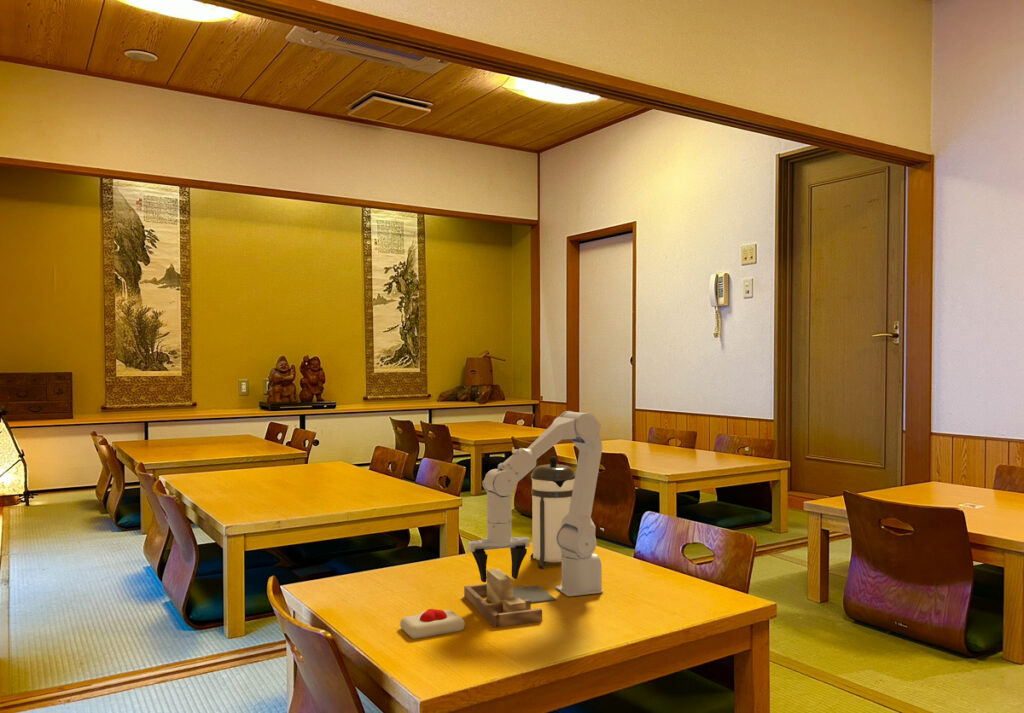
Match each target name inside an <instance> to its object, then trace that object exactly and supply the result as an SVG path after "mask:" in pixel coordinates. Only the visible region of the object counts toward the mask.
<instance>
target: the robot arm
mask: <svg viewBox="0 0 1024 713" xmlns="http://www.w3.org/2000/svg"><path fill="white" fill-rule="evenodd" d="M552 421H553V422H552V423H551V425H550V426H548V427H547V428H546V429H545V430H544V431H543V432H542V433H541V434H540V435H539V436H538V437H537V438H536V439H535V440H534V441H533V442H532V443H531V444H530V445H529V446H528V447H527V448H523V447H520V448H518V449H517V448H516V449H513V450H512V451H511V453H512V455H511V456H509V457H508V458H507V459H505V460H504V461H503V462H500V463H499V464H498V465H497V468H493V469H490V470H489V471H488V472H486V473H485V477H484V479H483V480H482V482H481V483H482V487H483V489H484V490H485V492H486V538H484V539H479V540H472V541H471V540H470V541H468V543H467V547H468V551H469V552H470V553H471V554H472V556H473V557H474V559H475V562H476V565H477V568H478V572H479V575H480V577H479V578H480V581H481V582H482V583H487V562H488V554H487V553H486V550H487V551H488V550H500V549H510V555H511V579H514V580H518V577H519V572H520V569H521V565H522V563H523V560H524V559H525V557H526V555H527V551H528V550H527V548H529V547H530V544H531V543H530V538H529V537H528V536H522V537H518V536H517V537H516V536H515V537H514V536H512V494H513V493H514V492H515V491H516V488H517V484H518V483H519V482H520V481H521V480H523V479H524V478H525V476H527V474H529V473H530V472H531V471H533V470H534V469H535V468H536V467H537V459H539V458H540V457H541V456H542V455H544V454H545V453H546V452H547V451H548V450H550V449H552V447H554V446H555V445H556V444H557V443H559V442H560V441H562V440H564V441H565V440H569V441H571V442H572V443H573V444H574V445H575V447H576V448H577V449H578V457H577V458H578V459H577V464H576V469H575V474H576V475H575V481H574V486H573V492H572V498H571V504H570V510H569V513H568V515H566V516H565V517H564V518H563V520H562V524H561V527H560V528H559V530H558V532H557V535H556V541H557V544H558V546H559V547H560V548H561V553H562V562H561V584H560V585H556V586H555V589H556V590H558V591H560V592H561V593H562V594H564V595H565V596H567V597H577V596H578V597H579V596H585V595H593V594H602V593H603V592H604V590H603V587H602V586H603V585H602V583H603V581H602V578H603V577H602V576H603V575H602V571H603V570H602V561H601V558H600V556H599V555H598V554H597V553H594V552H595V550H596V549H597V548H596V547H597V538H596V530H597V529H596V528H597V527H596V525H595V523H594V521H593V519H592V513H593V506H594V500H595V494H596V488H597V482H598V476H599V472H600V471H599V470H600V465H601V458H602V454H603V453H602V452H603V442H602V436H601V433H600V432H601V425H602V424H601V422H600V421H599V420H598V418H597V417H596V416H595V415H594V414H592V413H591V412H579V411H578V412H576V411H572V410H566V411H564V412H562V413H561V414H560V415H559V416H557V417H556V418H554V419H553V420H552Z"/></svg>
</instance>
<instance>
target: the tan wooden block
mask: <svg viewBox="0 0 1024 713" xmlns="http://www.w3.org/2000/svg"><path fill="white" fill-rule="evenodd" d="M486 576H487V579H486V584H487V595H486V599H487V601H489V602H490V604H492V603H500V602H503V600H505V599H512V598H513V588H514V586H513V584H514V583H513V582H514V580H513V578H512V577H510V576H509V575H507V574H506V573H505V572H504V571H503V570H501V569H500V568H490V569H486Z"/></svg>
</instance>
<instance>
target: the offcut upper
mask: <svg viewBox="0 0 1024 713" xmlns="http://www.w3.org/2000/svg"><path fill="white" fill-rule="evenodd" d="M503 609H504V610H505V611H507V612H515V611H523V610H526V602H524V601H523V600H521V599H520V598H512V599H505V600H503Z"/></svg>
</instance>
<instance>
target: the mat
mask: <svg viewBox="0 0 1024 713" xmlns="http://www.w3.org/2000/svg"><path fill="white" fill-rule="evenodd" d="M513 598H520V599H521V600H526V599H529V600H531V604H537V603H544V602H554V601H557V598H555V597H554V596H553V595H552V594H550V593H549V592H548V591H546V590H544V589H543V588H542V587H541V586H539V585H537V584H535V585H527V586H518V587H513Z"/></svg>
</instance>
